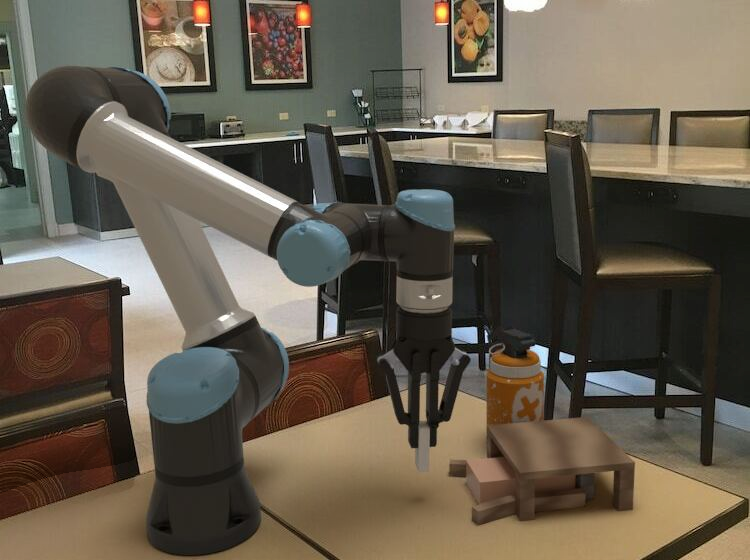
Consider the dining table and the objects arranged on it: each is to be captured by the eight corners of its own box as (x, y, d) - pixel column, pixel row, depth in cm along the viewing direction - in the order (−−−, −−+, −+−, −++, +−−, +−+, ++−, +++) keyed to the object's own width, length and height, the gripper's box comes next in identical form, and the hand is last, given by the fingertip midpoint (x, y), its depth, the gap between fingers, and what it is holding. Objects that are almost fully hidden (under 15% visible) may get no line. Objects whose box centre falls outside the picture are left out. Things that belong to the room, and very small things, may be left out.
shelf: (474, 525, 105) (474, 477, 104) (447, 471, 121) (446, 428, 119) (632, 509, 108) (635, 462, 107) (586, 458, 124) (587, 416, 122)
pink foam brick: (479, 508, 110) (479, 482, 110) (466, 485, 117) (466, 460, 116) (574, 498, 113) (575, 472, 112) (556, 476, 119) (556, 451, 118)
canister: (506, 464, 123) (507, 341, 118) (469, 438, 132) (469, 323, 128) (553, 453, 126) (556, 332, 122) (514, 428, 136) (515, 316, 132)
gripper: (380, 315, 102) (380, 483, 107) (478, 311, 104) (473, 476, 109) (372, 300, 109) (372, 458, 114) (464, 297, 111) (460, 453, 116)
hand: (422, 467), depth 112 cm, fingers closed
